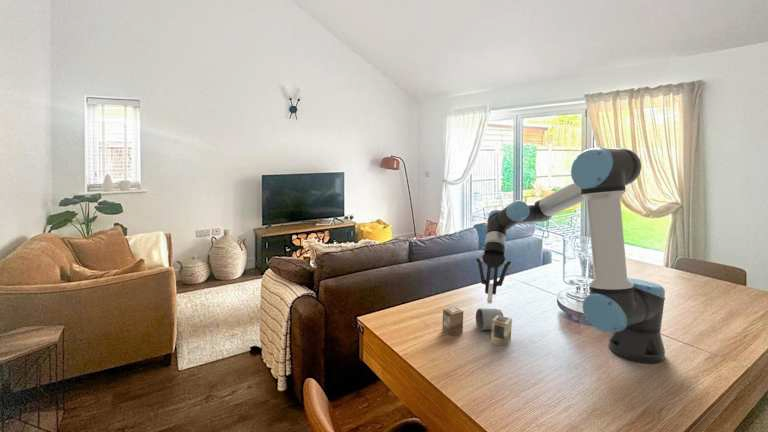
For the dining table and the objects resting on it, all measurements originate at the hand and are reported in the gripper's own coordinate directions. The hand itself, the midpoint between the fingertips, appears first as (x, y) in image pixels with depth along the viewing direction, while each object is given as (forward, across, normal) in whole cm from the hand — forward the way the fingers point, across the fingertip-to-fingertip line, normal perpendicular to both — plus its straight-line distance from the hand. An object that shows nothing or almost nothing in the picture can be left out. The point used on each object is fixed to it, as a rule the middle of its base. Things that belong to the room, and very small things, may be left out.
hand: (489, 301), depth 142 cm
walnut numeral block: (+12, +12, -2) cm, 17 cm away
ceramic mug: (+7, 0, -8) cm, 10 cm away
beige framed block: (+14, -5, -1) cm, 14 cm away
